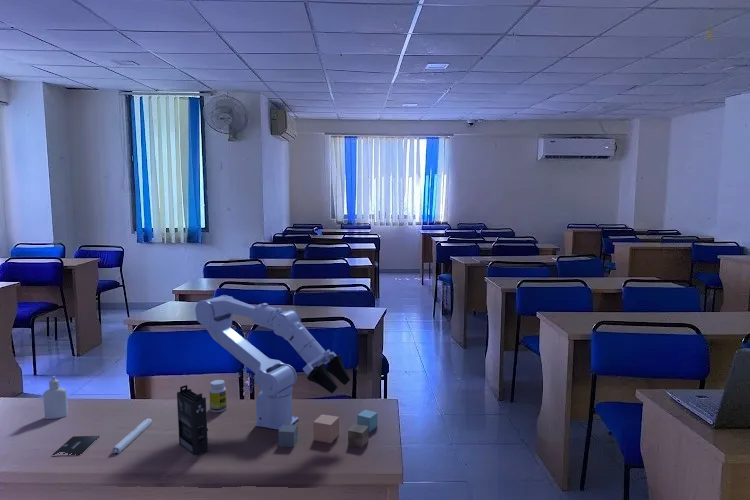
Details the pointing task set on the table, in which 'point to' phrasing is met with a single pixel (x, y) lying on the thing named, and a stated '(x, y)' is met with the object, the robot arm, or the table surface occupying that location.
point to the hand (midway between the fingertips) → (341, 386)
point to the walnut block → (358, 435)
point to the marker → (131, 436)
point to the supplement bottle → (218, 396)
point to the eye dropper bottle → (55, 400)
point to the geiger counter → (192, 421)
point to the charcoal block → (288, 435)
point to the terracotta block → (326, 428)
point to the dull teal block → (367, 419)
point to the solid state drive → (76, 445)
